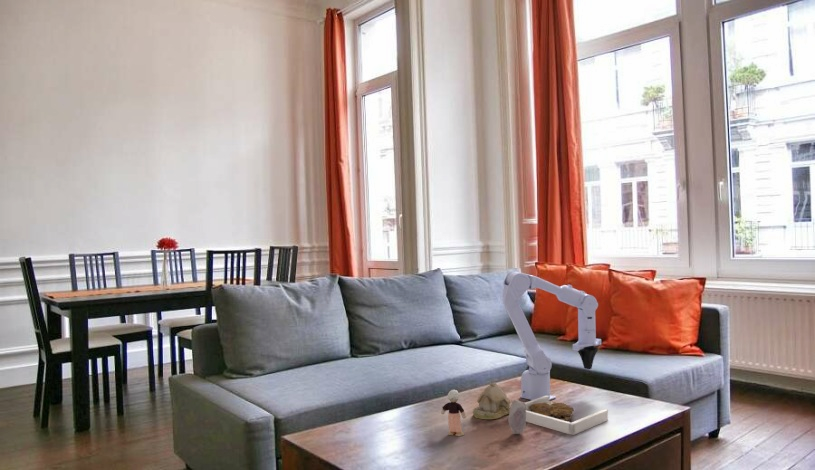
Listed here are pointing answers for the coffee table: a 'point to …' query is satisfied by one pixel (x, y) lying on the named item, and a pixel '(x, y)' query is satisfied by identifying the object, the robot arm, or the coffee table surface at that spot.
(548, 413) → the decorative rock
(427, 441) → the coffee table surface
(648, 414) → the coffee table surface
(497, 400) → the ceramic model
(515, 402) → the fossil
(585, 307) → the robot arm
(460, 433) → the grandmother figurine
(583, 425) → the box
